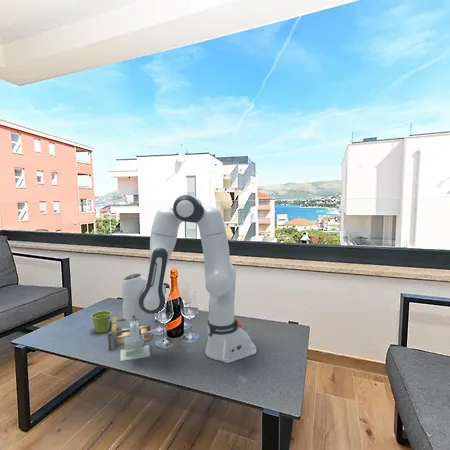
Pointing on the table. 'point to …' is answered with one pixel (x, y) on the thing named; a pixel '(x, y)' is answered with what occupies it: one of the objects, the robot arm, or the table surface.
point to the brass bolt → (114, 324)
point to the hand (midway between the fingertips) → (134, 342)
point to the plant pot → (101, 321)
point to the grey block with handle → (129, 345)
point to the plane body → (128, 333)
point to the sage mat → (134, 353)
